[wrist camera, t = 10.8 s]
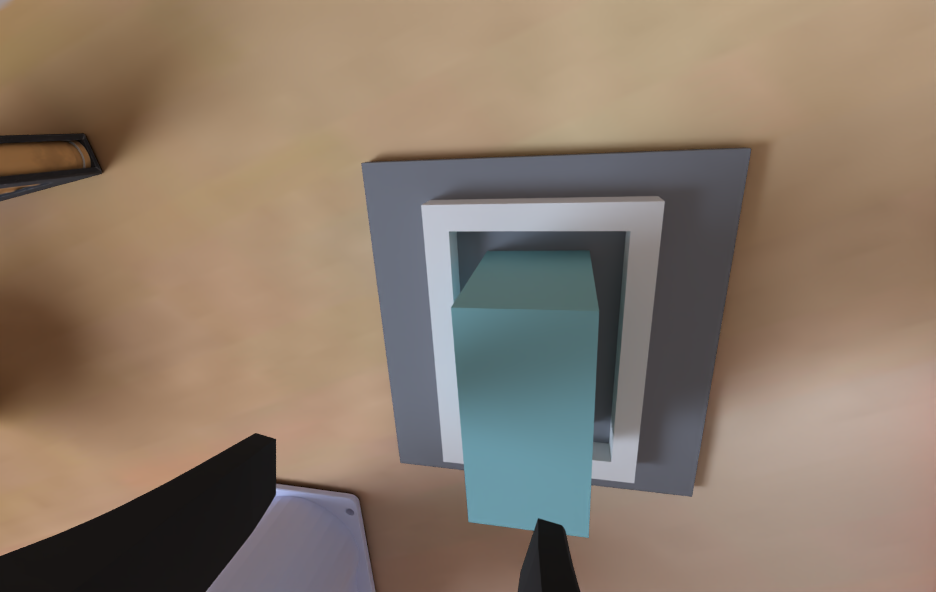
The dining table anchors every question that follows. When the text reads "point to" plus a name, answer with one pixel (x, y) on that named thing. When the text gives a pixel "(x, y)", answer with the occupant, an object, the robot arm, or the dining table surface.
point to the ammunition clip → (43, 162)
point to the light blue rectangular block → (528, 387)
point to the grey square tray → (615, 275)
